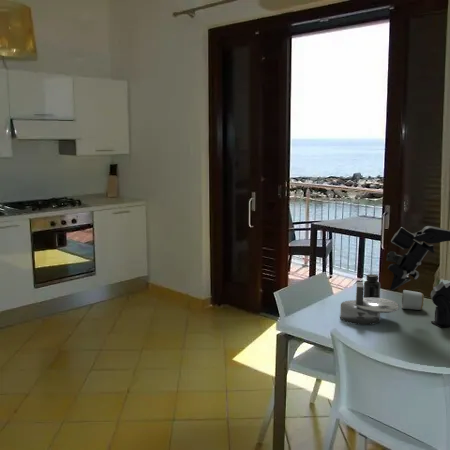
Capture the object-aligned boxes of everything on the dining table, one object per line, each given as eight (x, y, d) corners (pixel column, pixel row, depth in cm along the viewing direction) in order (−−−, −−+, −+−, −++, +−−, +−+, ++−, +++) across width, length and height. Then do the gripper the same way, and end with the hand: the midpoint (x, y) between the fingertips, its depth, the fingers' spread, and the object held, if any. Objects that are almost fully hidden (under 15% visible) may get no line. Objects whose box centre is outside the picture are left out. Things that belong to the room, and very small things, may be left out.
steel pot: (378, 310, 211) (378, 298, 210) (381, 330, 187) (382, 317, 186) (340, 307, 214) (341, 295, 213) (339, 327, 190) (340, 314, 189)
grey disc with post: (396, 301, 204) (397, 281, 203) (400, 314, 189) (401, 292, 187) (354, 299, 208) (355, 279, 206) (355, 310, 192) (356, 289, 191)
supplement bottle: (377, 300, 224) (379, 273, 223) (381, 305, 218) (382, 277, 216) (361, 299, 225) (363, 273, 223) (364, 304, 218) (365, 277, 217)
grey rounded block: (423, 312, 208) (424, 293, 207) (402, 310, 210) (403, 292, 209) (420, 305, 218) (421, 287, 217) (400, 303, 220) (401, 286, 219)
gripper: (405, 246, 205) (383, 277, 209) (388, 242, 190) (365, 276, 194) (429, 262, 198) (406, 294, 202) (413, 259, 184) (389, 294, 188)
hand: (391, 289), depth 197 cm, fingers closed
